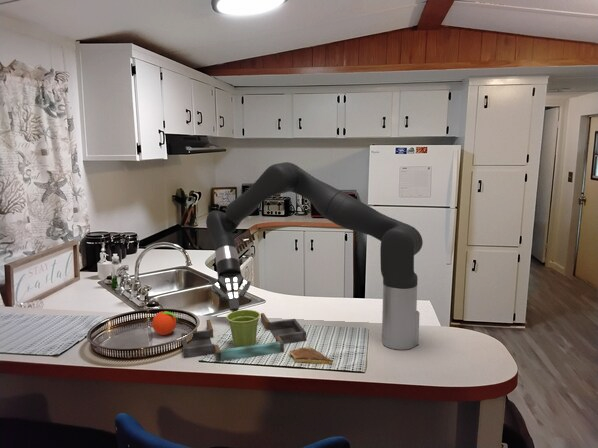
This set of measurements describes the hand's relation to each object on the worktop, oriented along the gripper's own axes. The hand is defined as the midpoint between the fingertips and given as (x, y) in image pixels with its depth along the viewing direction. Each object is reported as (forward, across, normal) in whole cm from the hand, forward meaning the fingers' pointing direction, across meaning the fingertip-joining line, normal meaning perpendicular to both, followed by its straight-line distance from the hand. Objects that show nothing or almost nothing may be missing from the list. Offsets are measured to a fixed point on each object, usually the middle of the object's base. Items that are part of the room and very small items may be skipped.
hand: (235, 311), depth 142 cm
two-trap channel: (+11, 0, -4) cm, 11 cm away
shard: (+23, +16, -16) cm, 32 cm away
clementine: (+3, -21, +4) cm, 21 cm away
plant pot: (+14, 0, -7) cm, 15 cm away
